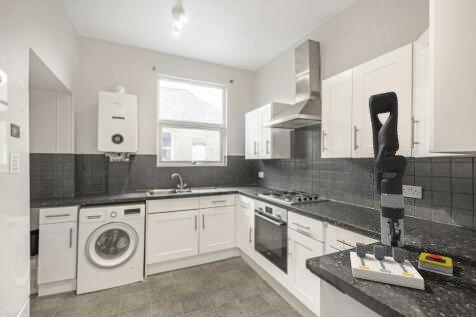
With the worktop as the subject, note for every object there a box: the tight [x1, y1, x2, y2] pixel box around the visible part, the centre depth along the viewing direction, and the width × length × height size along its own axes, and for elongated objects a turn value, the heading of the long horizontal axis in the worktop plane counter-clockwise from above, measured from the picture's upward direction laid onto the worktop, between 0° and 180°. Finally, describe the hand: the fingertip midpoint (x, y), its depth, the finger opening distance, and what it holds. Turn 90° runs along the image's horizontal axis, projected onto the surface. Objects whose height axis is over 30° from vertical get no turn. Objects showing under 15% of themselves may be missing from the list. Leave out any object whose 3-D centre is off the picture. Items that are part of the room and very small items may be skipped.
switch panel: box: [349, 251, 425, 291], centre depth 77 cm, size 17×19×3 cm
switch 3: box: [391, 247, 405, 262], centre depth 79 cm, size 3×3×4 cm
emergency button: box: [417, 252, 454, 277], centre depth 83 cm, size 9×4×15 cm
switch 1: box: [355, 242, 367, 256], centre depth 84 cm, size 3×3×4 cm
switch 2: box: [372, 244, 385, 259], centre depth 82 cm, size 3×3×4 cm
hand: (394, 250), depth 84 cm, fingers closed
